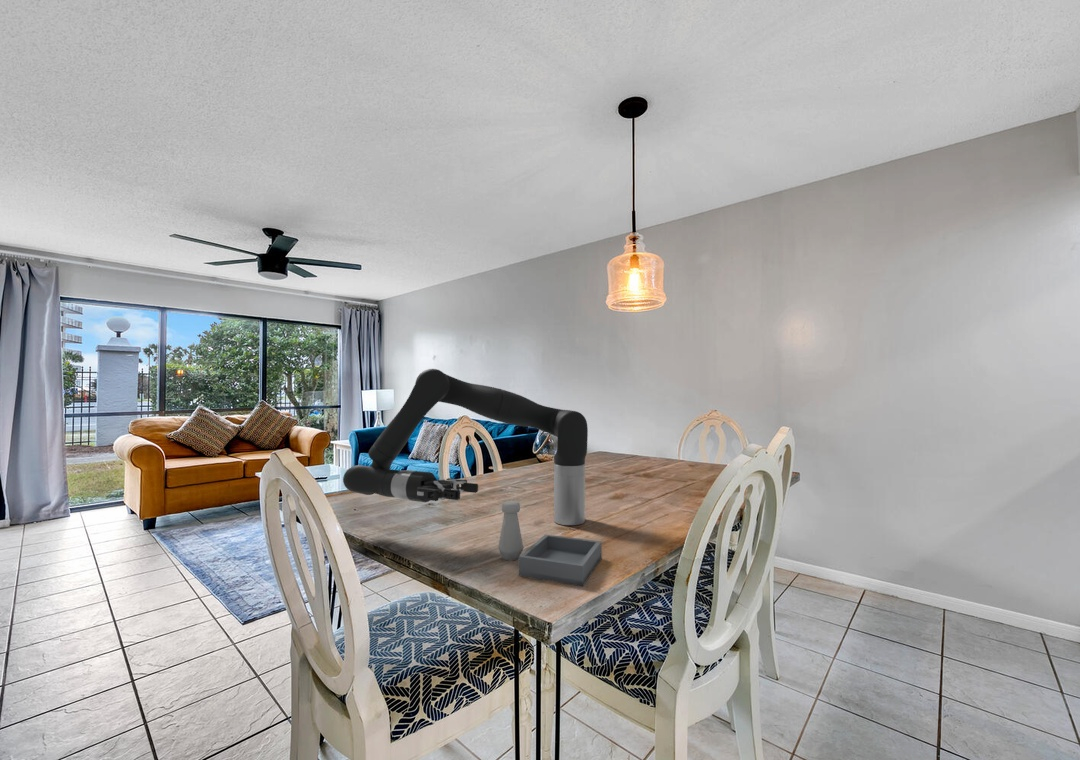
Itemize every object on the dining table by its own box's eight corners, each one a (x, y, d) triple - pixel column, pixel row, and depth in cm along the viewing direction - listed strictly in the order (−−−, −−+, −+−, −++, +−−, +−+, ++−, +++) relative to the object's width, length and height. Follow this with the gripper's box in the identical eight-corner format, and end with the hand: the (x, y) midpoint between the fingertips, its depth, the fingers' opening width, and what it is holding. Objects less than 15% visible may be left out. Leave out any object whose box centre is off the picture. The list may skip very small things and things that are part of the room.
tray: (545, 550, 110) (545, 534, 110) (601, 558, 105) (601, 541, 105) (518, 575, 95) (518, 556, 95) (582, 586, 90) (582, 566, 90)
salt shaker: (510, 551, 109) (510, 497, 110) (528, 556, 106) (528, 501, 106) (493, 558, 105) (493, 502, 105) (511, 564, 101) (511, 506, 102)
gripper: (395, 475, 109) (453, 481, 103) (430, 467, 122) (483, 471, 116) (395, 506, 109) (452, 514, 103) (429, 494, 122) (482, 500, 116)
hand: (468, 491), depth 110 cm, fingers open, 8 cm apart
